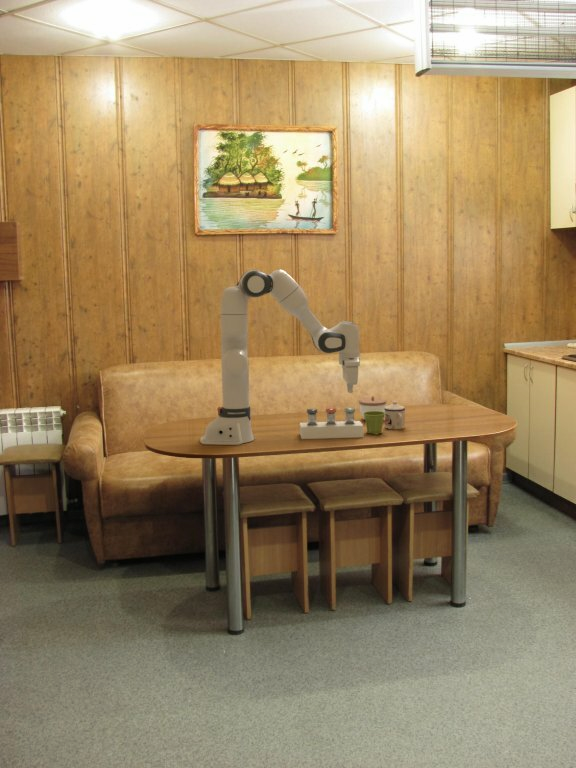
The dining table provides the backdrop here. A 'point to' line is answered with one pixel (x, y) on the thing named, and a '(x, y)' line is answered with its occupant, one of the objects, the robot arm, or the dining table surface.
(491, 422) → the dining table surface
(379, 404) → the lidded bowl
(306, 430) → the block
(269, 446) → the dining table surface
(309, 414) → the plug
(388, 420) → the printed white mug
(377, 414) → the plant pot
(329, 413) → the brick-red plug
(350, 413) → the plug
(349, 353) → the robot arm
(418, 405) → the dining table surface
